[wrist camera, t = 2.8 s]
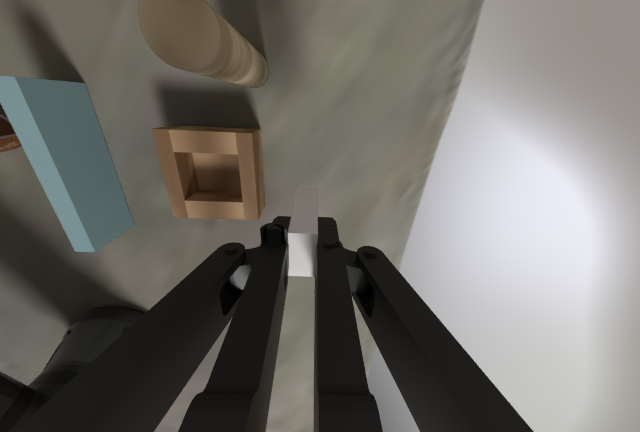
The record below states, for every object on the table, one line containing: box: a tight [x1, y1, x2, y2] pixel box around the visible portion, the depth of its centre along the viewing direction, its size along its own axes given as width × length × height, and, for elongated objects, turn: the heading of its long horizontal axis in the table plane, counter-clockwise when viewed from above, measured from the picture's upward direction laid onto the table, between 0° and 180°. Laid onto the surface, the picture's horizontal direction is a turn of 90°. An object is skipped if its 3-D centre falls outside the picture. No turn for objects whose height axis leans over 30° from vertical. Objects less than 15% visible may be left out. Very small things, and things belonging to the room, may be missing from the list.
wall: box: [0, 76, 134, 252], centre depth 23 cm, size 2×16×6 cm, turn 177°
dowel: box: [138, 0, 269, 88], centre depth 16 cm, size 3×3×14 cm
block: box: [152, 125, 265, 220], centre depth 25 cm, size 9×9×4 cm
